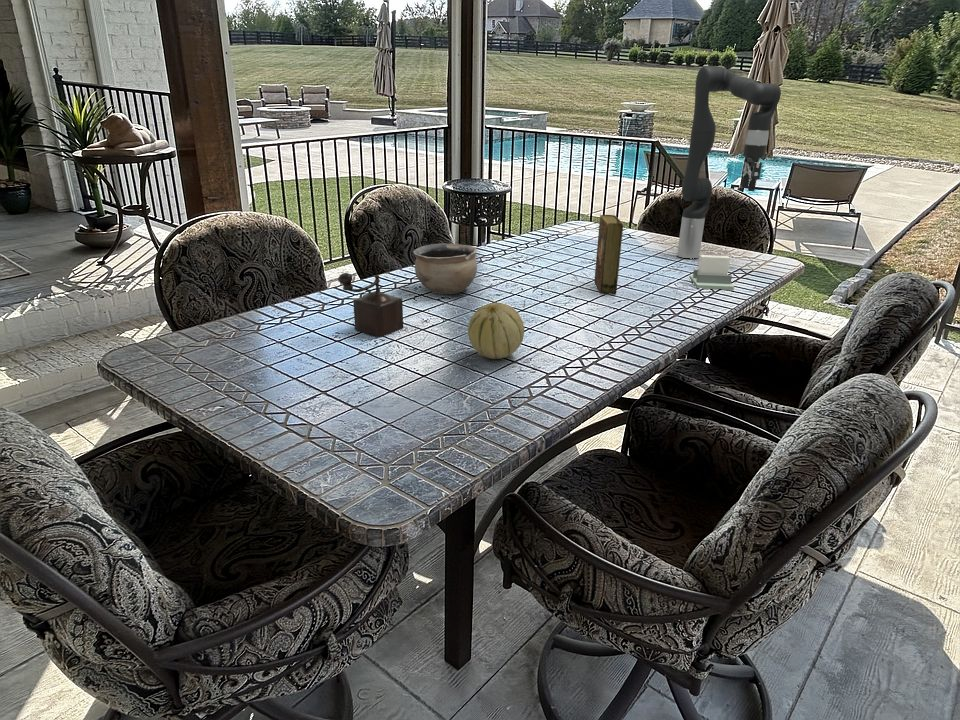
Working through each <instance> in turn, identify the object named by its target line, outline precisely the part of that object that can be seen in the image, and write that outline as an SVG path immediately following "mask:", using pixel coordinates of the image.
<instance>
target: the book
mask: <svg viewBox="0 0 960 720" xmlns="http://www.w3.org/2000/svg"><path fill="white" fill-rule="evenodd" d="M623 230H624V222H623V221H622V220H620V218H619V217H617V216H616V214H615V215H614V214H600V215H599V225H598V234H597V235H598V236H597V246H596V257H595V258H596V259H595V267H594V269H595V270H594V282H593V283H595V284H594V286H595V285H596V286H595V288H596V287H597V288H596V290H597V289H598V290H597V291H599V292H598V293H599V294H600V295H604V294H606V295H607V294H608V295H617V289H618V280H619V272H620V271H619V270H620V260H621V251H622V250H621V249H622V244H623V243H622V242H623Z"/></svg>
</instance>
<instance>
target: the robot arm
mask: <svg viewBox="0 0 960 720" xmlns="http://www.w3.org/2000/svg"><path fill="white" fill-rule="evenodd" d="M695 79H696V80H695V89H694V92H695V93H694V112H693V117H692V126H691V132H690V140H689V141H690V142H689V150H688V155H687V163H686V167H685V171H684V176H683V181H682V186H681V195H682V198H683V200H684V201H687V202H692V203H691V204H690V205H689V206H688V207H686V208H684V209H683V212H682V217H681V224H680V231H679V236H678V237H679V239H678V245H677V252H676V257H677V256H679V257H683V258H690V259H689V260H695V259H694V258H698V259H700V255H701V254H700V253H701V248H702V241H703V240H702V239H703V235H704V228H705V227H704V226H705V220H706V215H707V213H708V210H709V208H710V203H711V202H710V201H711V198H712V192H713V186H712V181H711V180H710V179H709V178H707V177H700V172H701V168H702V165H703V163H704V162H705V160H706V159H707V157H708V155H709V154H710V153H711V151H712V149H713V147H714V145H715V143H714V142H715V139H716V138H715V136H716V130H717V128H716V121H715V120H714V117H713V115H712V113H711V110H710V105H709V99H710V98H709V97H710V93H716V92H717V93H718V92H729V93H731V95H733V96H734V97H736V98H739V99H741V100H745V101H747V103H749V104H752V105H754V106H755V105H756V106H761V108H760V110H759V111H756V112H753V113H751V114H750V117H749V122H748V128H747V133H746V135H745V140H744V141H745V142H744V148H743V151H742V156H743V158H744V160H743V166H742V170H741V175H742V183H741V188H743V189H744V188H746V189H747V191H749V192H755V190H756V185H757V181H758V180H760V176H761V170H762V165H763V162H762V161H760V159H764V158H765V157H766V153H767V147H768V142H769V141H768V140H769V134H770V127H771V122H772V121H771V120H772V117H773V115H774V113H775V111H776V108H777V106H778V104H779V102H780V99H781V95H782V90H781V87H780V85H778V84H777V83H761V82H760V81H758V80H756V79H753V78H749V77H745V76H742V75H741V76H740V75H738V74H736V73H734V72H732V71H730V70H729V69H727V68H726V67H723V66H719V65H718V66H717V65H703V66H702V67H700V69H698V71H697V75H696V78H695ZM679 257H678V258H679ZM683 258H682V259H683ZM692 258H693V259H692Z"/></svg>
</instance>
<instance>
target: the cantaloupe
mask: <svg viewBox="0 0 960 720" xmlns="http://www.w3.org/2000/svg"><path fill="white" fill-rule="evenodd" d="M524 336H525V325H524V321H523V319H522V317H521V316H520V313H519V312H518V311H517V310H516V309H515V308H514V307H512V306H511V305H509V304H507V303H504V302H503V303H502V302H491V303H486V304H484V305H482V306H480V307H479V308H478V309H476V311H474V313H473V314H472V316H471V318H470V319H469V322H468V325H467V337H468V340H469V342H470V344H471V347H472V348H473V349H474V351H475V352H476V353H478V354H479V356H482V357H485V358H487V359H491V360H492V359H493V360H496V359H504V358H506V357H509V356H511V355H513V354H514V353H515V352H516V351H517V350H518V349H519V348H520V347H521V345H522V343H523V340H524Z"/></svg>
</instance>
